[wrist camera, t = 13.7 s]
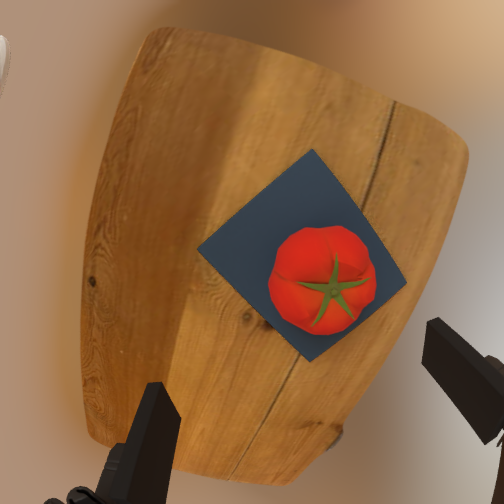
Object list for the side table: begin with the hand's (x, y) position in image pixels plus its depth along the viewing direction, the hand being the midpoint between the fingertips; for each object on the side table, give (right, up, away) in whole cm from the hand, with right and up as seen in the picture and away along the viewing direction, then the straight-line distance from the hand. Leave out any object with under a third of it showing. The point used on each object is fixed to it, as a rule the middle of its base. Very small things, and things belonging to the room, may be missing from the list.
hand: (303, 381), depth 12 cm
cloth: (+4, +4, +19) cm, 20 cm away
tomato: (+5, +4, +19) cm, 20 cm away
